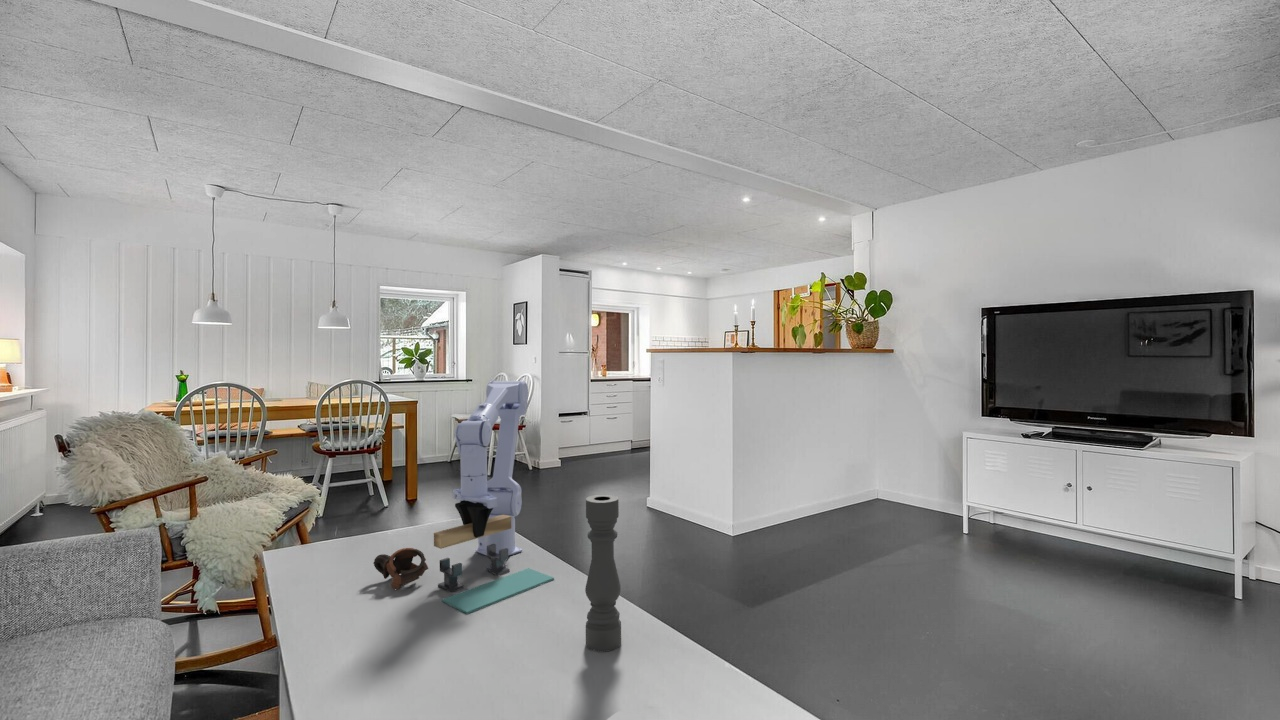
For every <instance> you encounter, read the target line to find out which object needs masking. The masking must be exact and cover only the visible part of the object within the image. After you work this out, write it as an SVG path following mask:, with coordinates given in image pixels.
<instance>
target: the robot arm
mask: <svg viewBox="0 0 1280 720" xmlns="http://www.w3.org/2000/svg"><path fill="white" fill-rule="evenodd" d="M528 387H529V386H528V383H527V382H526V381H525V380H523V379H521V380H490V381H489V382H488V384H487V385H486V393H485V396H486V399H485V401H484V402H483V403H482V402H481V403H479V404H478V405H477V406H476V407H475V408H474V410H473V412H472V413H471V414H470V415H469V417H468V419H467V420H462V421H461V422H458V424H457V425H456V429H455V434H454V435H455V437H454V438H455V443H456V446H457V454H458V455H460V458H459V459H460V460H459V461H460V488H456V489H452V499H456V500H457V501H459V502H456V503H455V504H454V508H456V510H457V512H458V514H459V516H460V519H461V522H462V525H466V524H469V523H472V526H473V534H474V537H475V538H477V537H480V538H477V541H478V542H477V545H478V547H477V548H476V549H475V550H474V551H475V552H477V553H479V554H481V555H484V556H487V546H488V545H491V544H496V553H498V554H499V550H502V549H505V548H508V557H509V556H511V555H514V554H517V553H520V552H523V548H520V547H517V546H516V517H518V515H519V514H520V513H521V510H522V504H523V499H522V492H523V491H522V487H521V485H520V484H519V483H518V482H517V481H515V480H514V479H513V472H514V465H515V455H516V448H517V440H518V439H517V438H518V432H519V431H518V430H519V424H520V419H521V417H522V416H523V415H525V414H526V413H527V409H528V402H529V401H528V399H529V388H528ZM499 418H500V423H499V430H498V436H497V445H496V451H495V459H494V460H495V461H494V467H493V474H492V477H491V478H490V479H488V446H489V444H490V442H491V439H492V434H493V428H494V426H495V424H496V423H497V421H498V420H499ZM500 515H508V516H511V529H508V530H504V531H501V532H497V533H494V534H490V535H487V536H484V532H485V528H486V524H487V521H488V518H492V517H496V516H500ZM481 536H483V537H481Z"/></svg>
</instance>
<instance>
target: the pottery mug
mask: <svg viewBox="0 0 1280 720" xmlns="http://www.w3.org/2000/svg"><path fill="white" fill-rule="evenodd" d="M417 556H418V557H419V558H420V563H419V565H418V564H416V563H413V560H414V558H415V557H417ZM373 560H374V561H373V562H372V563H373V566H374V568H375V569H376V570H377V571H378V572H379V573H380V574H382V576H383V578H384V580H386V579H387V578H388V577H389V576H390V577H391V578H392V581H391V584H390V586H391V589H393V590H395V589H396V591H399V589H400V588H401V586H406V585H408V584H410V583H412V582H415V581H416V580H419V579H420V577H422V576H423V575H424V573H425V572H426V571H427V570H429V567H428V563H426V560H427V559H426V557H425V554H424V552H423V551H421V550H420V549H417V548H413V547H404V548H400V549H397V550H396V551H395V552H393V553H392V554H391V555H388V554H384V553H383V554H379V555H377V556H376V557H375V558H374V559H373Z"/></svg>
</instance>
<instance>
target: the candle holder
mask: <svg viewBox="0 0 1280 720" xmlns="http://www.w3.org/2000/svg"><path fill="white" fill-rule="evenodd" d="M619 510H620V509H619V496H616V495H613V494H595V495H589V496H587V497H586V498H585V518H586V519H587V523H588V525H589V528H590V529H591V530H589V531H588V533H587V539H589V541H590V543H591V560H590V566H589V570H588V574H587V579H586V585H585V589H584V591H585V595H586V598H587V599H588V600H589V602H590V603H589V604H590V606H591V607H590V609H589V611H588V612H587V614H586V615H587V616H586V619H587V621H586V622H585V645H587V646H586V647H587V648H588V649H590V650H591V651H596V652H601V653H602V652H609V651H614V650H615V649H618V648H620V646H621V644H622V621H621V620H620V614H621V613H620V611H619V610H618V609H617V608H616V603H617V600H618V599H619V597H620V594H621V589H622V588H621V582H620V577H619V574H618V569H617V565H616V560H615V556H614V555H615V552H614V551H615V549H614V548H615V546H614V544H615V540H616V539H617V538H618V532H617V530H615V526H616V524H617V523H618V518H619V513H620V512H619Z"/></svg>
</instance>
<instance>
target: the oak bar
mask: <svg viewBox="0 0 1280 720" xmlns="http://www.w3.org/2000/svg"><path fill="white" fill-rule="evenodd" d="M508 529H511V516H508V515H500V516H496V517H492V518H488V521H487V524H486V528H485V532H484V536H487V535H490V534H494V533H497V532H501V531H504V530H508ZM481 537H483V536H481ZM478 538H480V537H477V538H475V537H474V534H473V526H472V523H469V524H466V525H463V524H462V525H459V526H458V525H457V526H455V527H451V528H447V529H444V530H439V531H435V532H433V547H436V548H438V549H440V550H441V549H445V548H449V547H452V546H455V545H458V544H459V545H460V544H463V543H466V542H469V541H473V540H475V539H477V540H478Z"/></svg>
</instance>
